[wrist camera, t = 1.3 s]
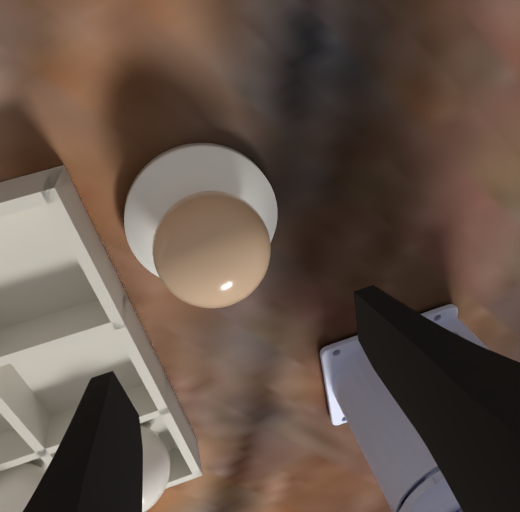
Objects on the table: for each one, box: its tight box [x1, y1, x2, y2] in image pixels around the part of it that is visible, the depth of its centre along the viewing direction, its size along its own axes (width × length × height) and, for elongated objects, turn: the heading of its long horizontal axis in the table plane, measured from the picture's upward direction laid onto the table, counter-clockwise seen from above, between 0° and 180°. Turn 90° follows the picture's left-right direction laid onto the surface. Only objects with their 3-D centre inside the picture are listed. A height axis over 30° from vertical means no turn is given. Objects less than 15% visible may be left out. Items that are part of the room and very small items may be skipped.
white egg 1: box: [0, 463, 46, 512], centre depth 23 cm, size 5×5×5 cm
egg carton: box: [0, 165, 202, 489], centre depth 21 cm, size 14×20×2 cm
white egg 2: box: [140, 425, 170, 512], centre depth 24 cm, size 5×5×5 cm
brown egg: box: [152, 190, 271, 308], centre depth 17 cm, size 5×5×5 cm
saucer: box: [124, 142, 278, 277], centre depth 20 cm, size 7×7×1 cm
